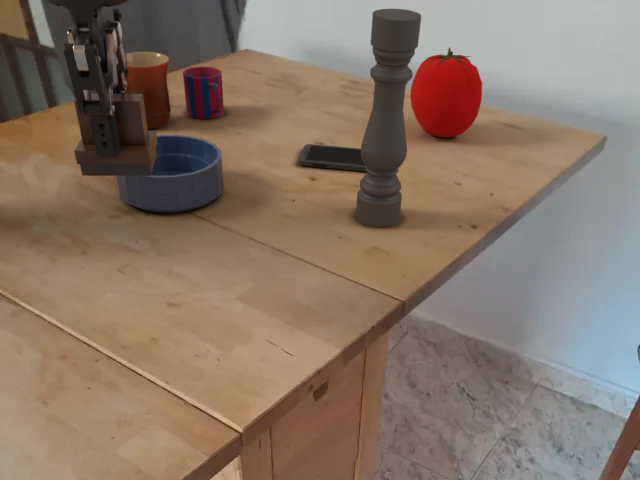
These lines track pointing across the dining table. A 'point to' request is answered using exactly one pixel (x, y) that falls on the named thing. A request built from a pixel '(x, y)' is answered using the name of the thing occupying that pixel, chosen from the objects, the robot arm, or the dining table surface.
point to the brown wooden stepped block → (132, 136)
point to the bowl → (176, 176)
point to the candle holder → (387, 116)
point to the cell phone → (332, 157)
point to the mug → (150, 85)
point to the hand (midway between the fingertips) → (114, 142)
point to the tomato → (446, 94)
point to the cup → (203, 92)
